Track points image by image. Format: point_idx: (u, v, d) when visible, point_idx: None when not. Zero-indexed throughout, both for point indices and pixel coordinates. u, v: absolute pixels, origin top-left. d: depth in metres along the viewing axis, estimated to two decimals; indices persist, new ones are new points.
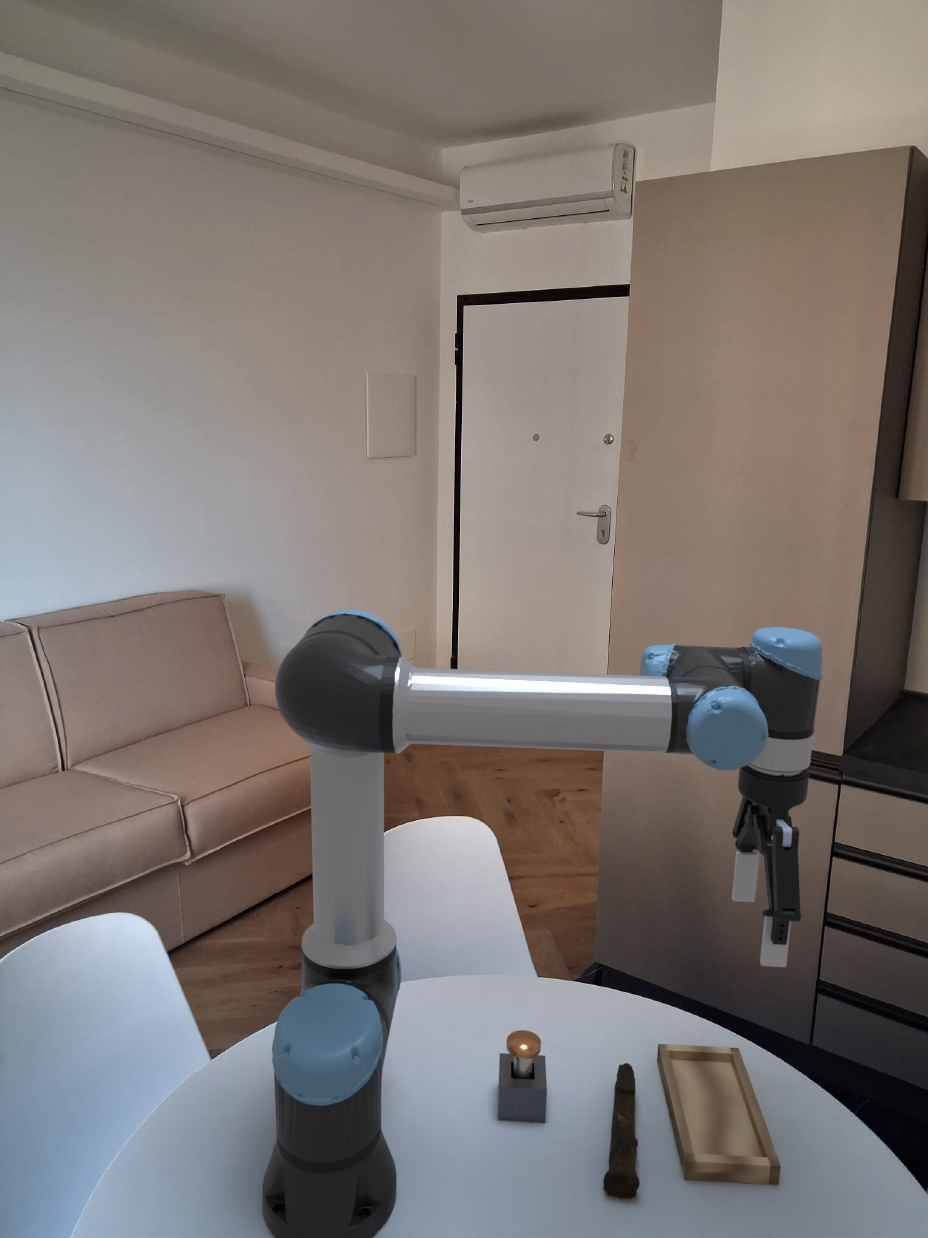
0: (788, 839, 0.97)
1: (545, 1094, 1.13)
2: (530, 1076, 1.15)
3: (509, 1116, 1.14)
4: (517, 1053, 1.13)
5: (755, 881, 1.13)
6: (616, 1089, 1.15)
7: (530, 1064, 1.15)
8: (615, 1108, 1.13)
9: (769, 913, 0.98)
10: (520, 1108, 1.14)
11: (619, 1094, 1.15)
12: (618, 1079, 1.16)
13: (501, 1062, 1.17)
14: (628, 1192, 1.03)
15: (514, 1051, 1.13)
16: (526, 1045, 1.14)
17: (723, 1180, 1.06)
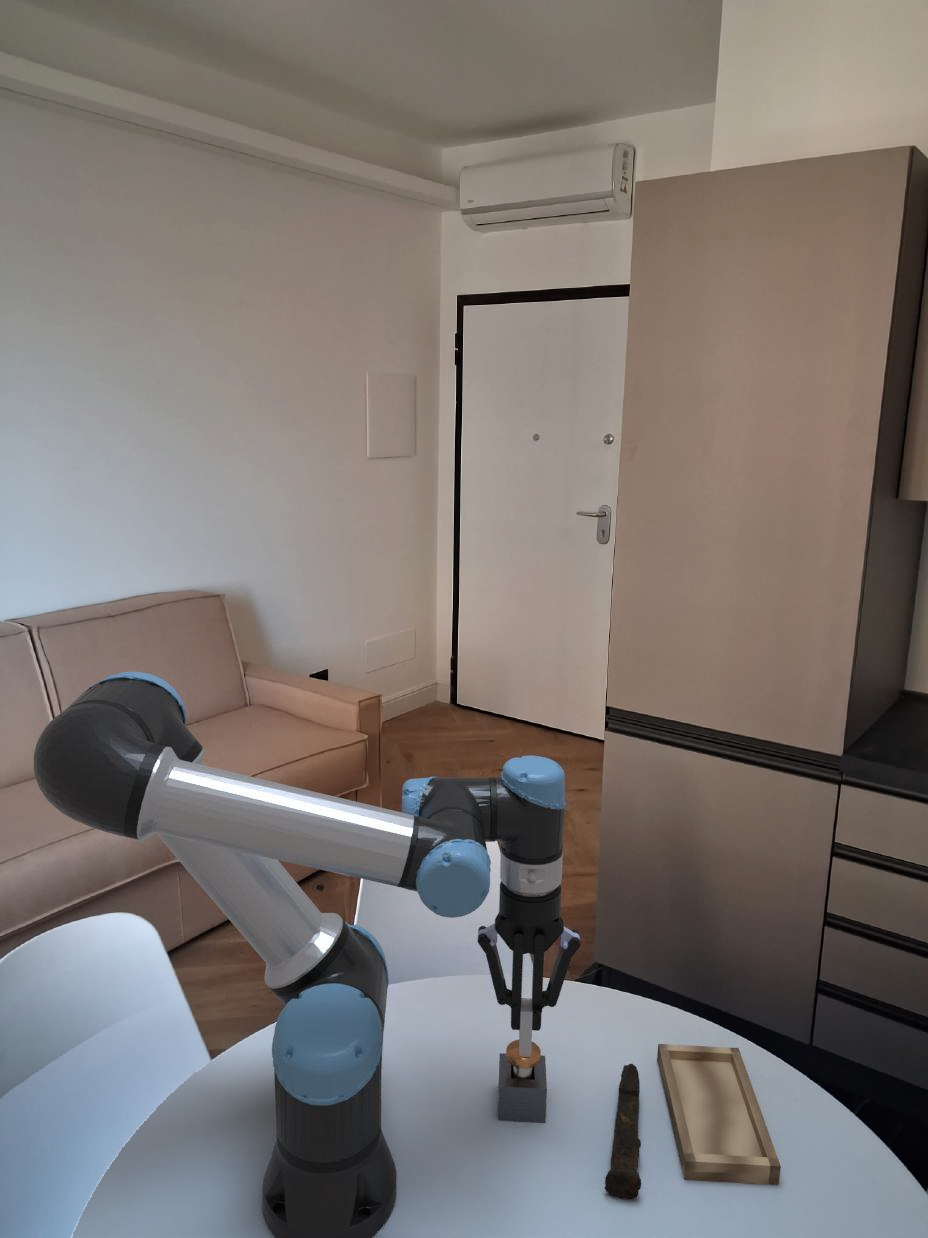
0: None
1: (545, 1094, 1.13)
2: None
3: (509, 1116, 1.14)
4: (517, 1063, 1.13)
5: None
6: (620, 1089, 1.15)
7: (530, 1073, 1.15)
8: (619, 1108, 1.13)
9: None
10: (520, 1108, 1.14)
11: (623, 1094, 1.14)
12: (622, 1080, 1.16)
13: (501, 1062, 1.17)
14: (630, 1192, 1.03)
15: (514, 1060, 1.14)
16: None
17: (723, 1180, 1.06)
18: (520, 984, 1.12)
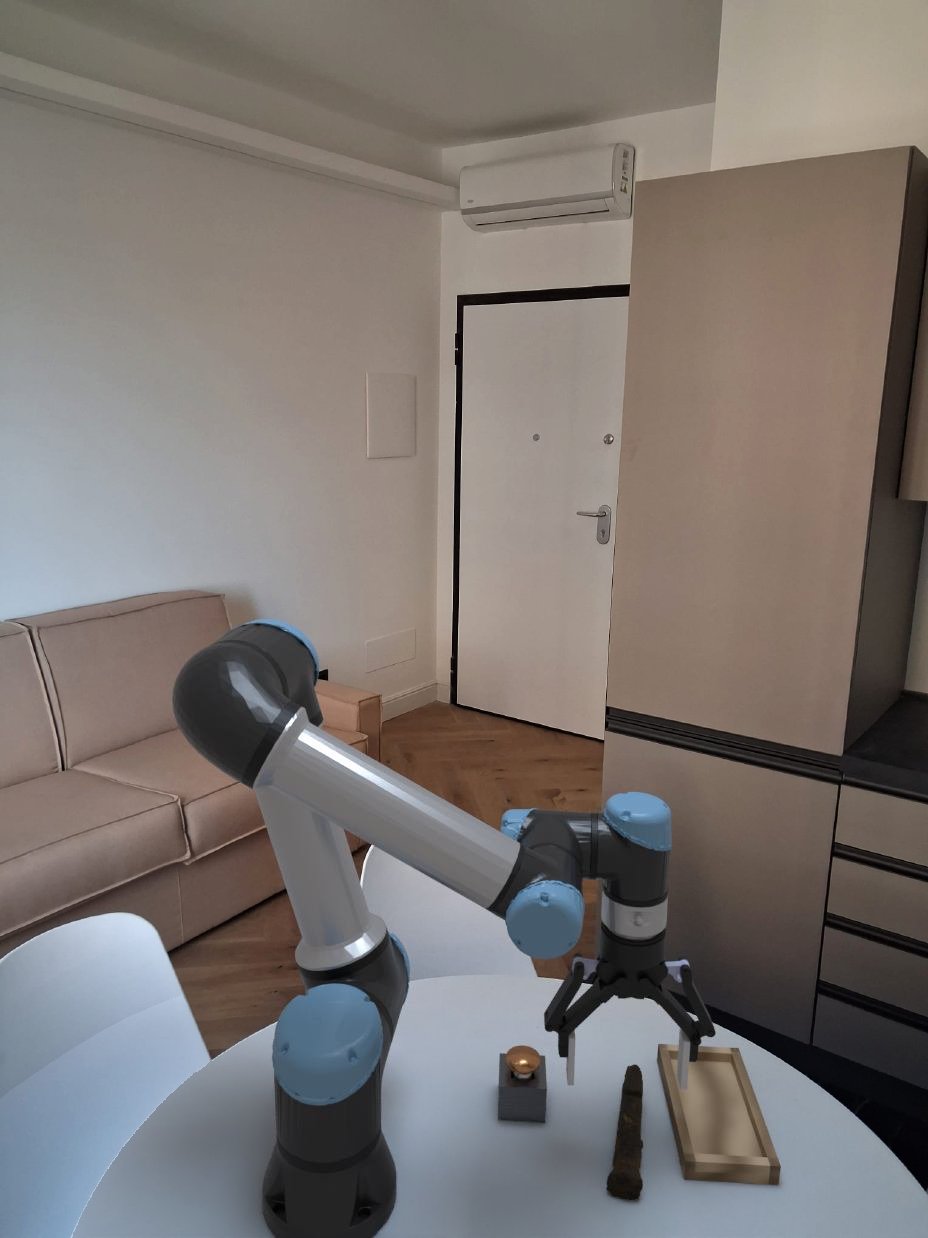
0: (573, 967, 1.07)
1: (545, 1094, 1.13)
2: None
3: (509, 1116, 1.14)
4: (516, 1069, 1.14)
5: (681, 1068, 1.08)
6: (623, 1090, 1.15)
7: None
8: (621, 1109, 1.13)
9: None
10: (520, 1108, 1.14)
11: (626, 1095, 1.14)
12: (625, 1080, 1.16)
13: (501, 1062, 1.17)
14: (631, 1193, 1.03)
15: (513, 1067, 1.14)
16: (525, 1061, 1.15)
17: (723, 1180, 1.06)
18: (584, 1018, 1.07)
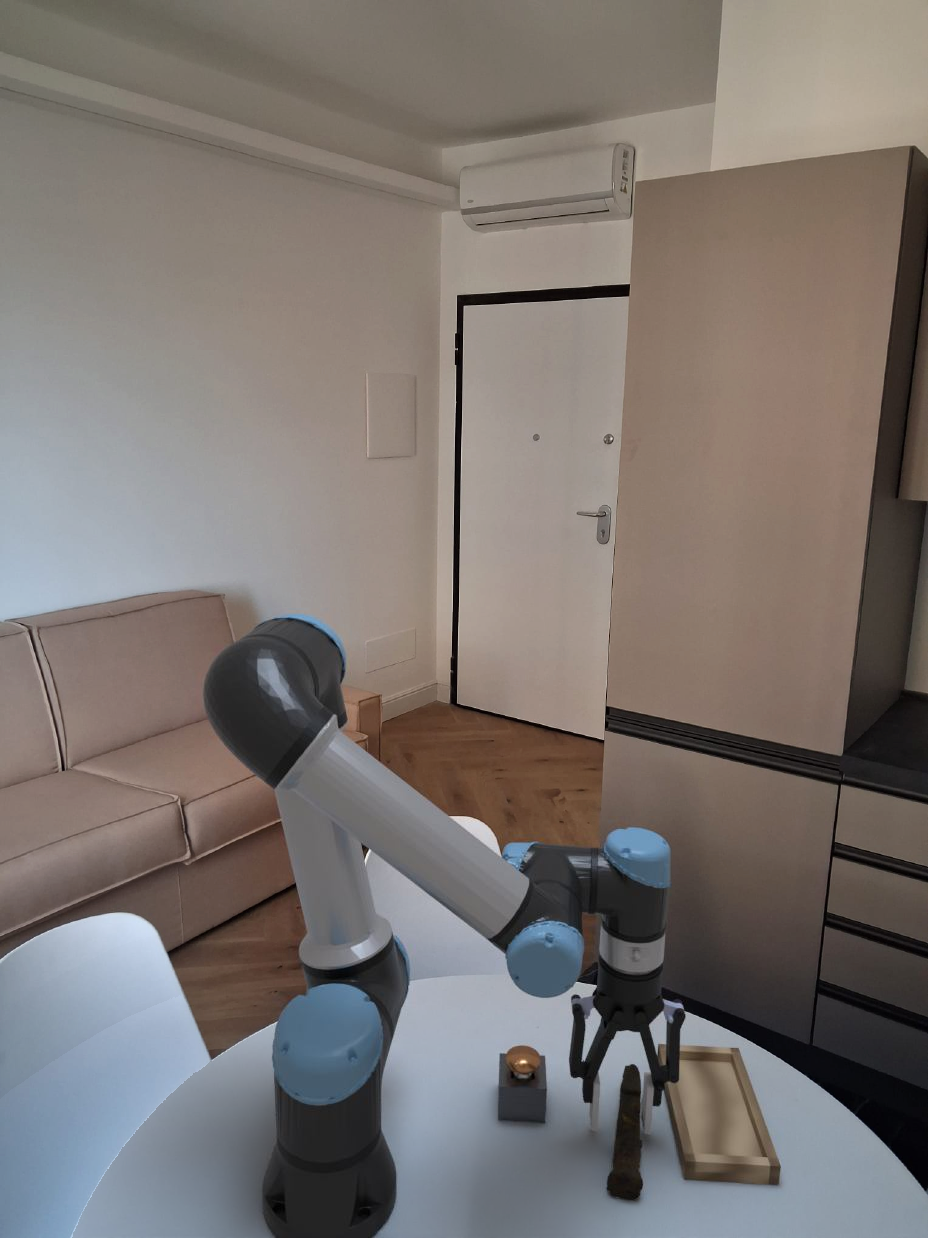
0: None
1: (545, 1094, 1.13)
2: None
3: (509, 1116, 1.14)
4: (516, 1069, 1.14)
5: (645, 1112, 1.10)
6: (622, 1090, 1.15)
7: None
8: (620, 1109, 1.13)
9: None
10: (520, 1108, 1.14)
11: (625, 1095, 1.14)
12: (624, 1080, 1.16)
13: (501, 1062, 1.17)
14: (632, 1193, 1.03)
15: (513, 1067, 1.14)
16: (525, 1061, 1.15)
17: (723, 1180, 1.06)
18: (601, 1059, 1.08)
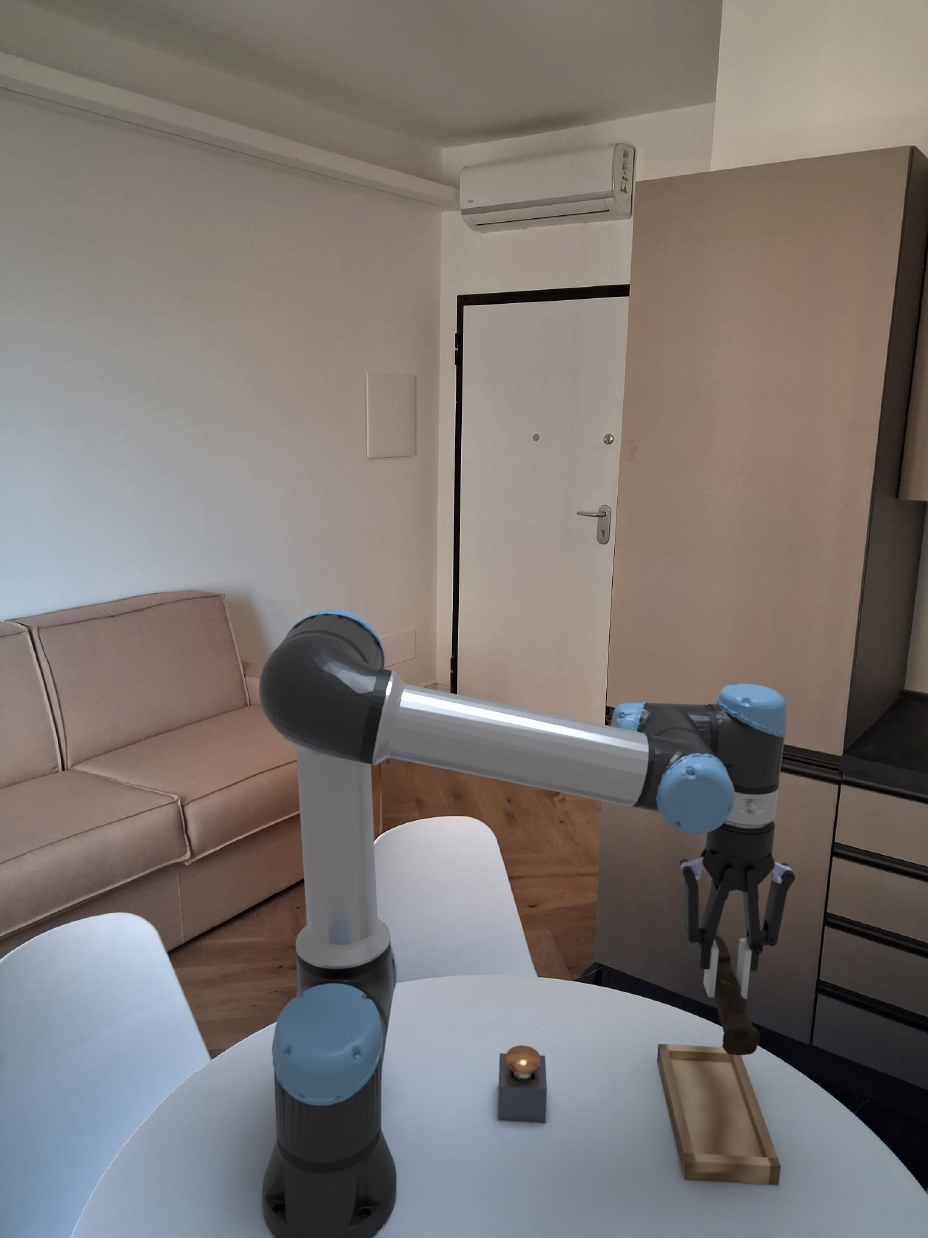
0: None
1: (545, 1094, 1.13)
2: None
3: (509, 1116, 1.14)
4: (516, 1069, 1.14)
5: (742, 976, 1.09)
6: None
7: None
8: None
9: None
10: (520, 1108, 1.14)
11: None
12: None
13: (501, 1062, 1.17)
14: (749, 1047, 1.02)
15: (513, 1067, 1.14)
16: (525, 1061, 1.15)
17: (723, 1180, 1.06)
18: (717, 922, 1.08)
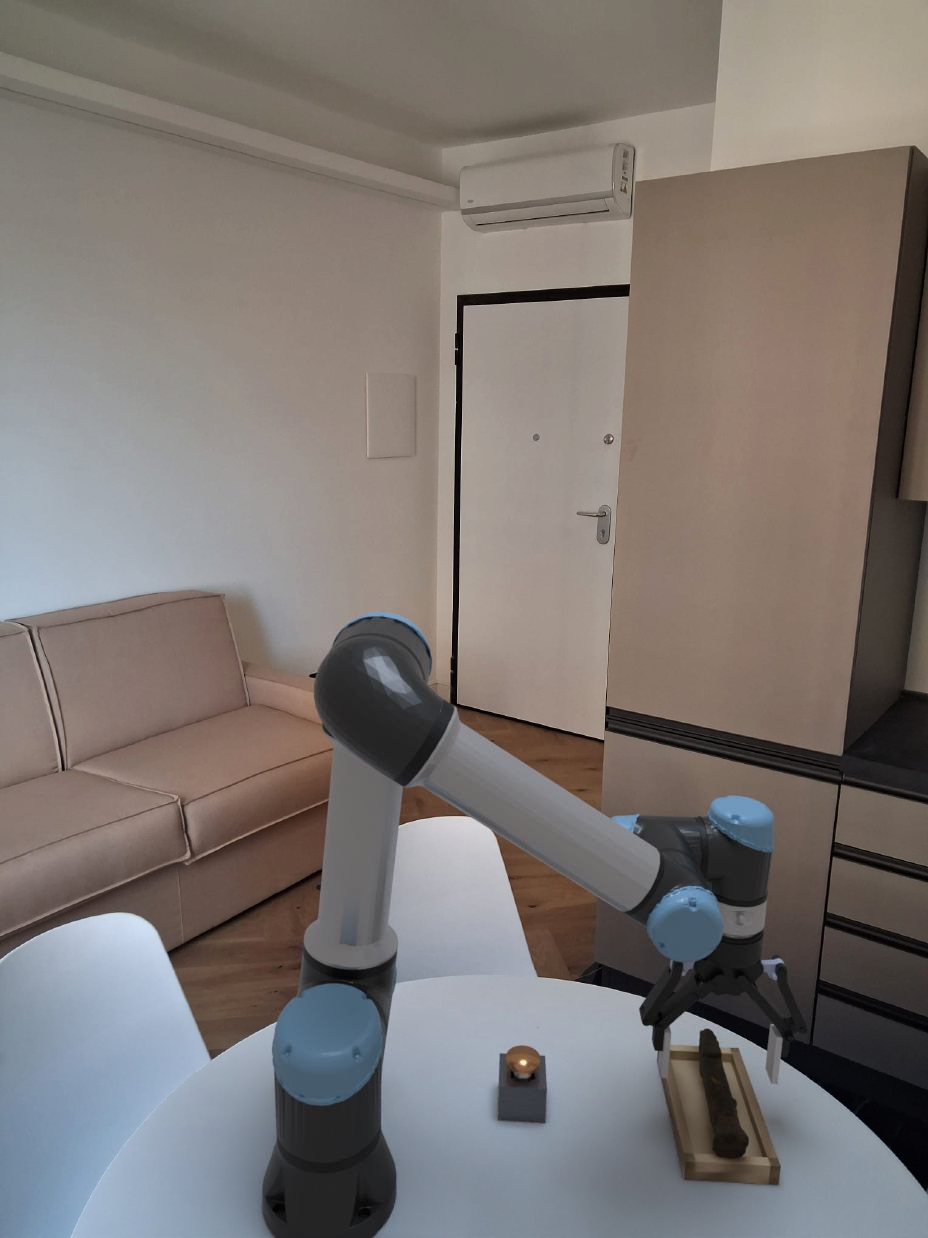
0: (671, 964, 1.11)
1: (545, 1094, 1.13)
2: None
3: (509, 1116, 1.14)
4: (516, 1069, 1.14)
5: (773, 1062, 1.12)
6: (704, 1054, 1.18)
7: None
8: (707, 1072, 1.15)
9: None
10: (520, 1108, 1.14)
11: (707, 1058, 1.17)
12: (703, 1044, 1.19)
13: (501, 1062, 1.17)
14: (738, 1150, 1.05)
15: (513, 1067, 1.14)
16: (525, 1061, 1.15)
17: (723, 1180, 1.06)
18: (681, 1013, 1.11)
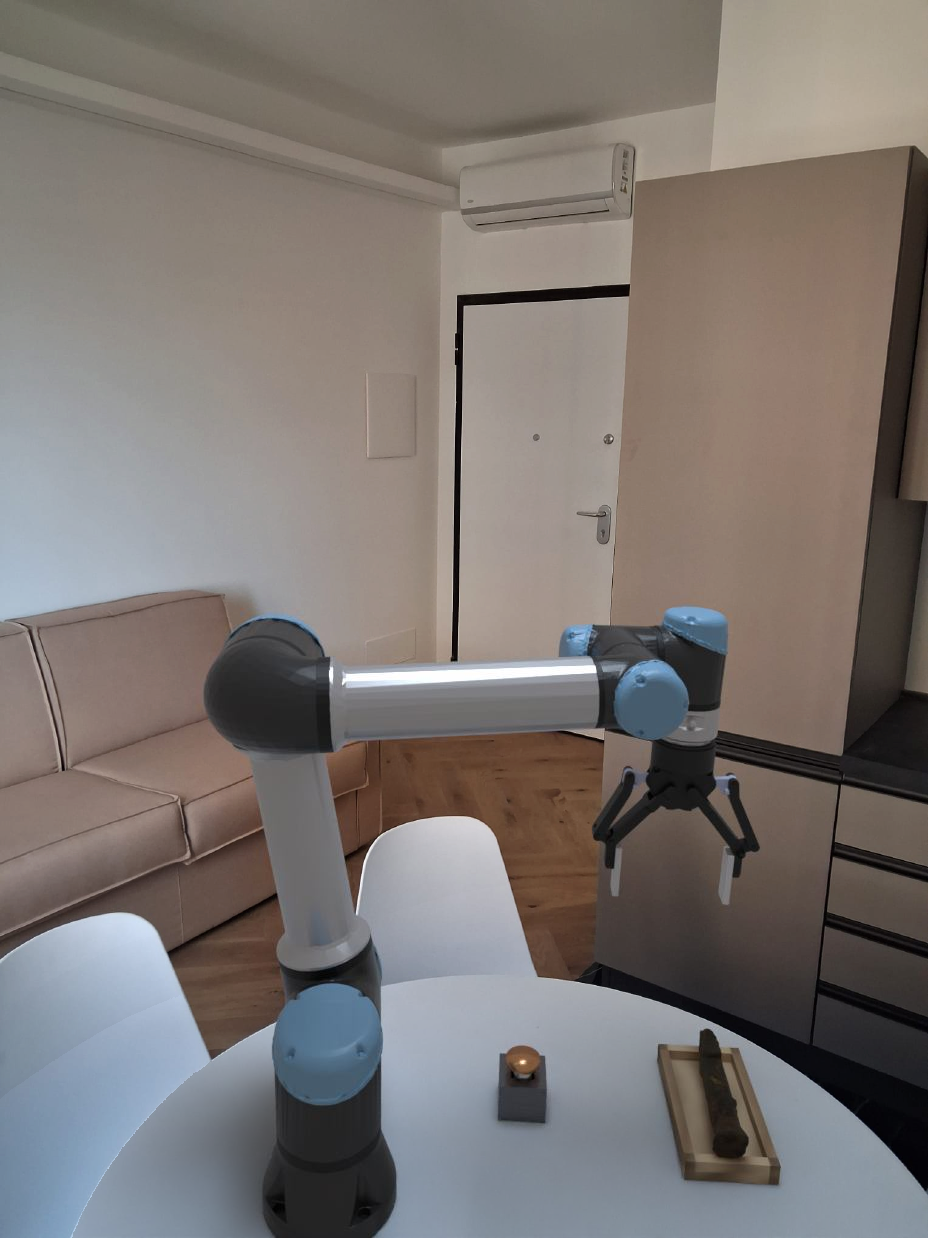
0: (623, 778, 1.10)
1: (545, 1094, 1.13)
2: None
3: (509, 1116, 1.14)
4: (516, 1069, 1.14)
5: (724, 882, 1.11)
6: (704, 1054, 1.18)
7: None
8: (707, 1072, 1.15)
9: None
10: (520, 1108, 1.14)
11: (707, 1058, 1.17)
12: (703, 1044, 1.19)
13: (501, 1062, 1.17)
14: (738, 1150, 1.05)
15: (513, 1067, 1.14)
16: (525, 1061, 1.15)
17: (723, 1180, 1.06)
18: (632, 828, 1.11)
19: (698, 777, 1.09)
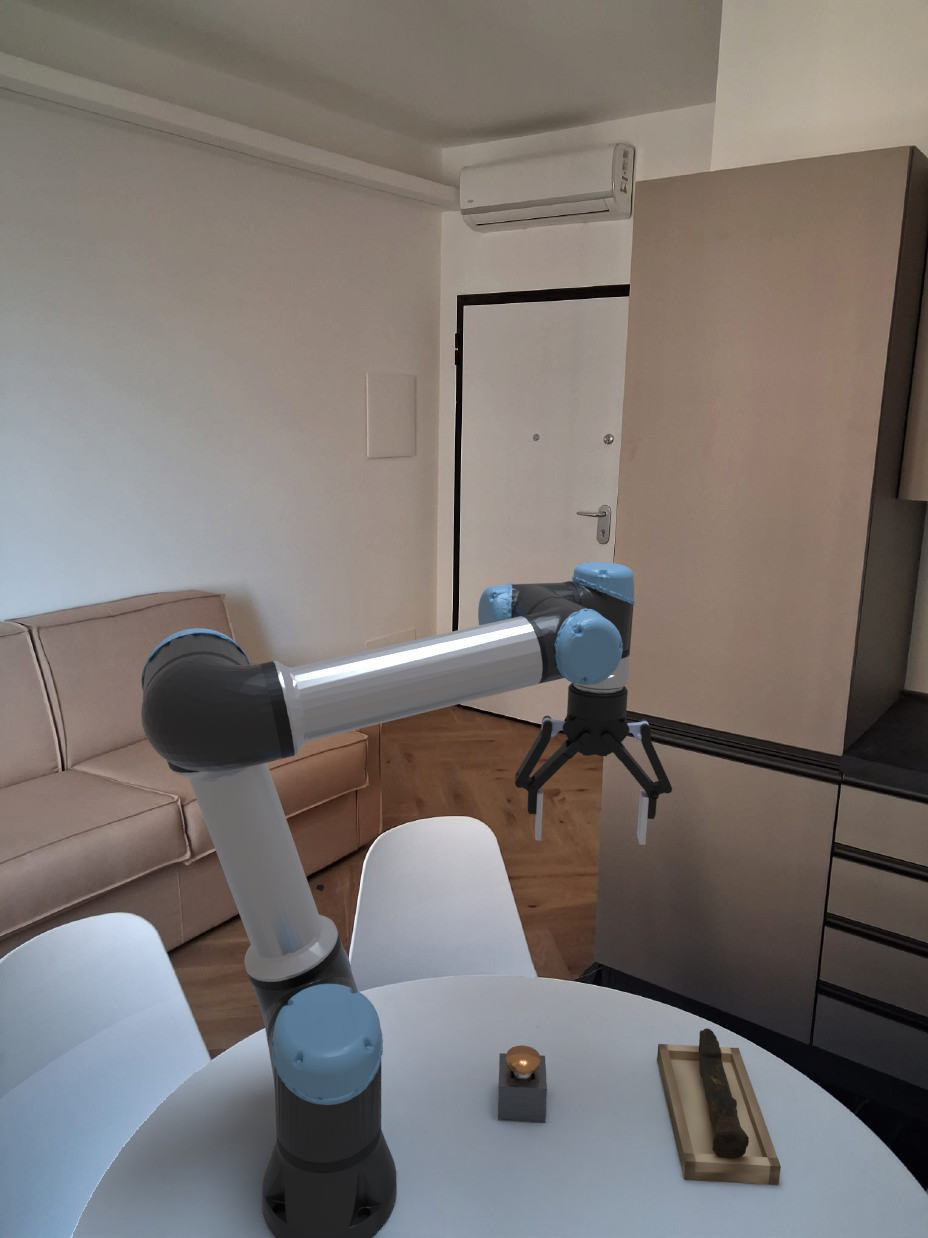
0: (542, 727, 1.16)
1: (545, 1094, 1.13)
2: None
3: (509, 1116, 1.14)
4: (516, 1069, 1.14)
5: (640, 823, 1.17)
6: (704, 1054, 1.18)
7: None
8: (707, 1072, 1.15)
9: None
10: (520, 1108, 1.14)
11: (707, 1058, 1.17)
12: (703, 1044, 1.19)
13: (501, 1062, 1.17)
14: (738, 1150, 1.05)
15: (513, 1067, 1.14)
16: (525, 1061, 1.15)
17: (723, 1180, 1.06)
18: (551, 774, 1.16)
19: (612, 723, 1.15)
